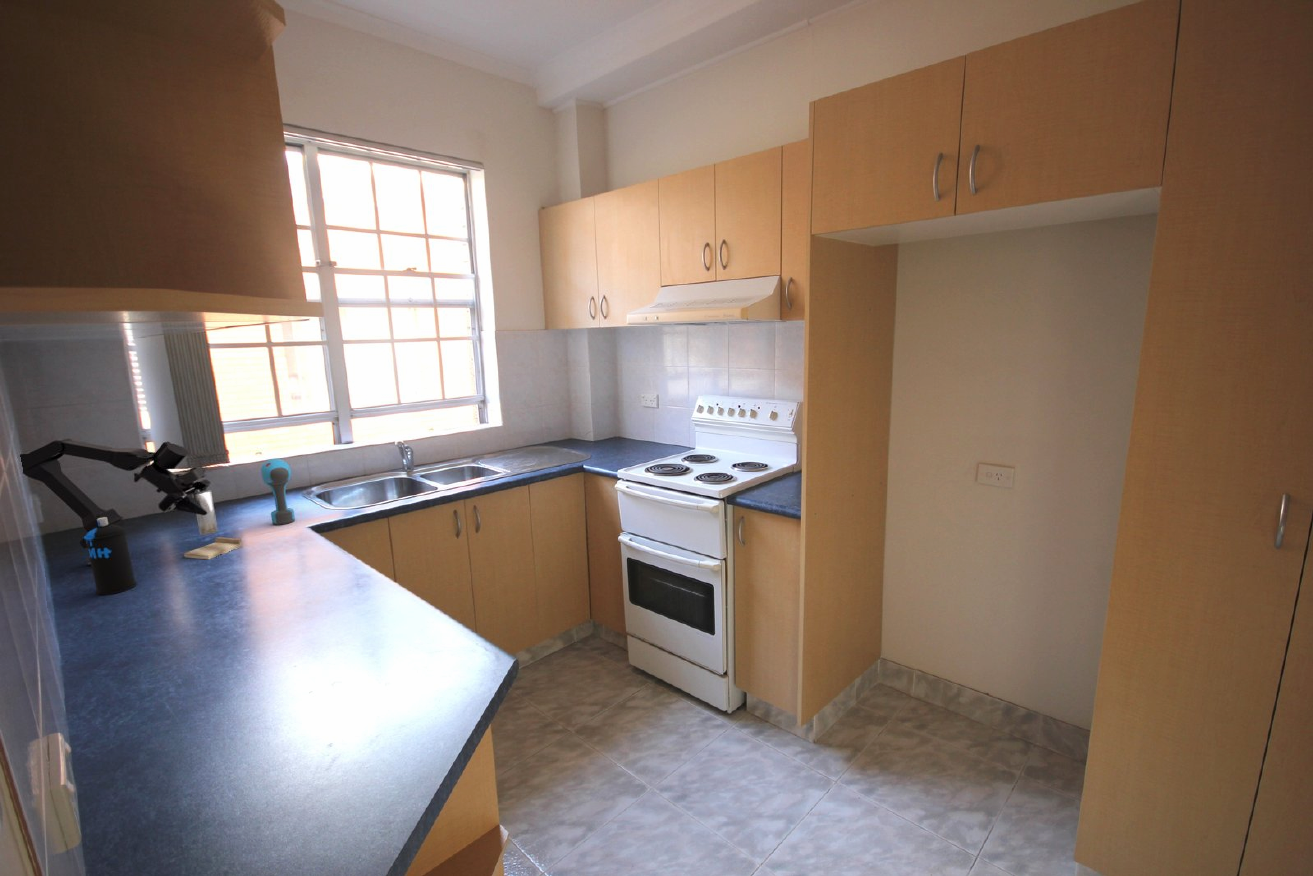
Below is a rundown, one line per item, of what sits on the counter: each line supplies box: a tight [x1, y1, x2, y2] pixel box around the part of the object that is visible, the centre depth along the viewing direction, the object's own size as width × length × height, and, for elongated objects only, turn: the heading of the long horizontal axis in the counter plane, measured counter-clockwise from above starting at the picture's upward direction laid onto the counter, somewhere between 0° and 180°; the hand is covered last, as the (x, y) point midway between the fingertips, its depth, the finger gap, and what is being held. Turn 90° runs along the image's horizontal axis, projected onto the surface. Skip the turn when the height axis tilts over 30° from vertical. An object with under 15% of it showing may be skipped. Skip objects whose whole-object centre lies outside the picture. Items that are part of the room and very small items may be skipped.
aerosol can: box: [83, 517, 138, 596], centre depth 156 cm, size 8×8×20 cm
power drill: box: [260, 458, 296, 526], centre depth 214 cm, size 28×9×23 cm, turn 40°
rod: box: [193, 489, 219, 536], centre depth 181 cm, size 4×4×13 cm
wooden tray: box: [183, 536, 244, 560], centre depth 184 cm, size 11×10×3 cm
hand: (210, 511), depth 181 cm, fingers closed on rod, 4 cm apart
